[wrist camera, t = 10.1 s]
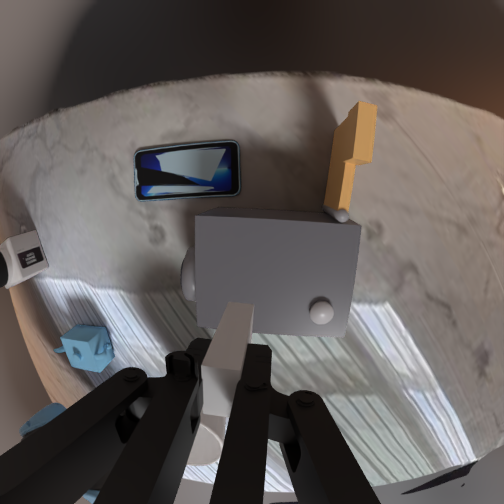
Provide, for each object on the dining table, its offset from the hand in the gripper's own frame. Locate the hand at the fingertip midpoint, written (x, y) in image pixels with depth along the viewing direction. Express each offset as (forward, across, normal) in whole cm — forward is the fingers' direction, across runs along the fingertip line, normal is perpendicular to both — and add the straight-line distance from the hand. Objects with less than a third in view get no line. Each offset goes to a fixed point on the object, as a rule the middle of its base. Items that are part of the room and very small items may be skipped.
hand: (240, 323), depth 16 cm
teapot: (+23, -29, -19) cm, 42 cm away
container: (+23, -44, -5) cm, 50 cm away
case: (+22, +1, -1) cm, 22 cm away
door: (+21, +8, +11) cm, 25 cm away
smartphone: (+22, -11, +10) cm, 26 cm away
